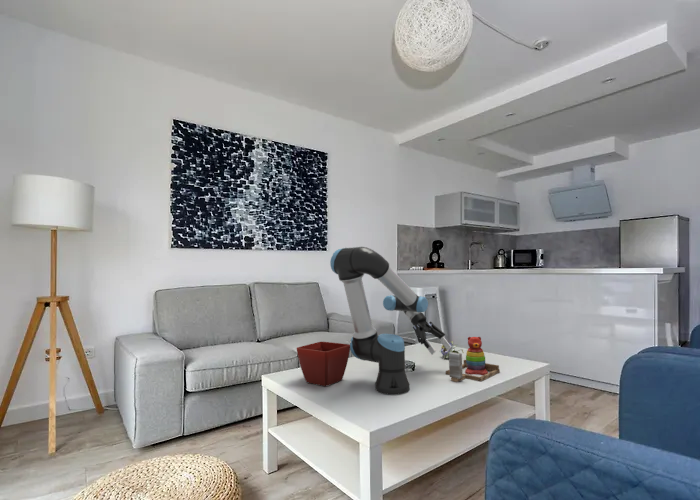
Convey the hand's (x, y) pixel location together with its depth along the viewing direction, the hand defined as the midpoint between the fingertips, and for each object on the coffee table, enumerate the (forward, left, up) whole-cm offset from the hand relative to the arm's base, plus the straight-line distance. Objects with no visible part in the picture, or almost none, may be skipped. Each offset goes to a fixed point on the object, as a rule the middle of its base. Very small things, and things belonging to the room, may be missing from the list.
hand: (441, 350), depth 181 cm
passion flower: (+36, +17, -13) cm, 42 cm away
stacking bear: (+18, -8, -13) cm, 24 cm away
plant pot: (-42, +39, -13) cm, 59 cm away
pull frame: (+11, -8, -12) cm, 18 cm away
